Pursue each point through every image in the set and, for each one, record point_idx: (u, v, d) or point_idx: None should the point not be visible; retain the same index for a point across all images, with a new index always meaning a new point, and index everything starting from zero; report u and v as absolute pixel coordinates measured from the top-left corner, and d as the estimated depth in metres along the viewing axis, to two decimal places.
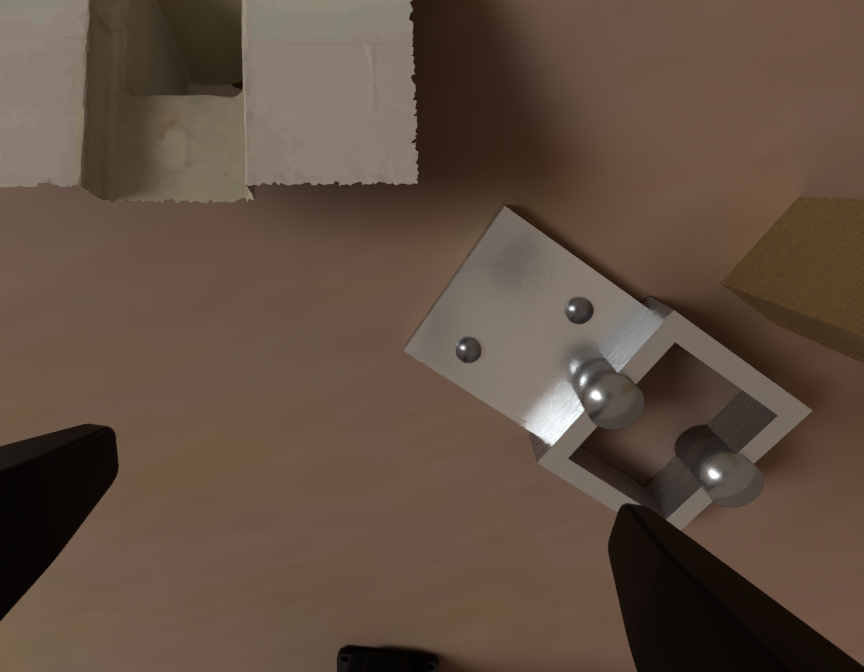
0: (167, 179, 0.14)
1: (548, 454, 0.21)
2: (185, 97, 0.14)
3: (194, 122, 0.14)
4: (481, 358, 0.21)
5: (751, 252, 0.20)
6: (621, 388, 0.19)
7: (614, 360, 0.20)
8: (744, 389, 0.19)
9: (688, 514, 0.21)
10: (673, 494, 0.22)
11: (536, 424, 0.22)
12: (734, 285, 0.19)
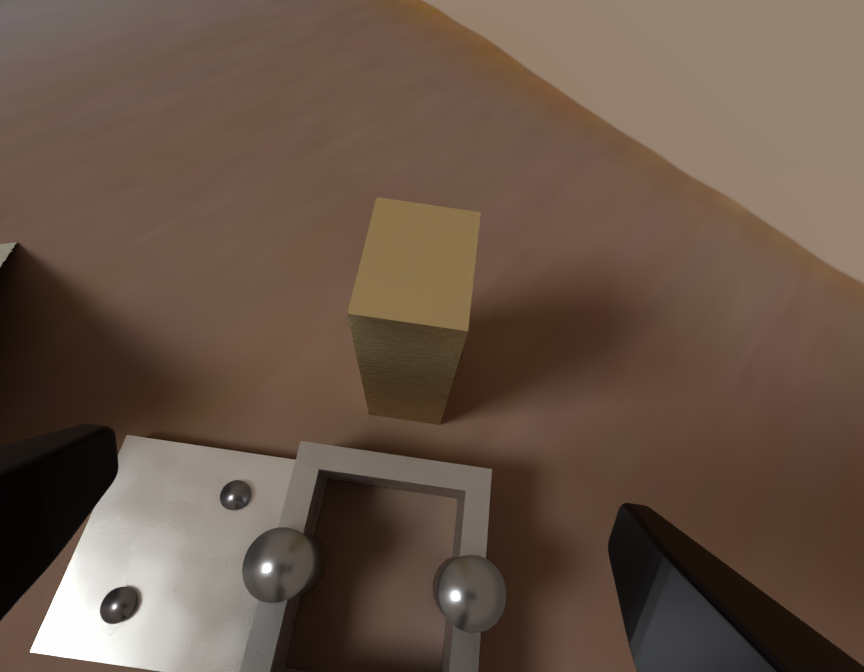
0: None
1: None
2: None
3: None
4: (139, 607, 0.17)
5: None
6: (275, 540, 0.16)
7: None
8: (415, 481, 0.18)
9: None
10: (446, 664, 0.16)
11: (240, 666, 0.16)
12: (368, 406, 0.21)
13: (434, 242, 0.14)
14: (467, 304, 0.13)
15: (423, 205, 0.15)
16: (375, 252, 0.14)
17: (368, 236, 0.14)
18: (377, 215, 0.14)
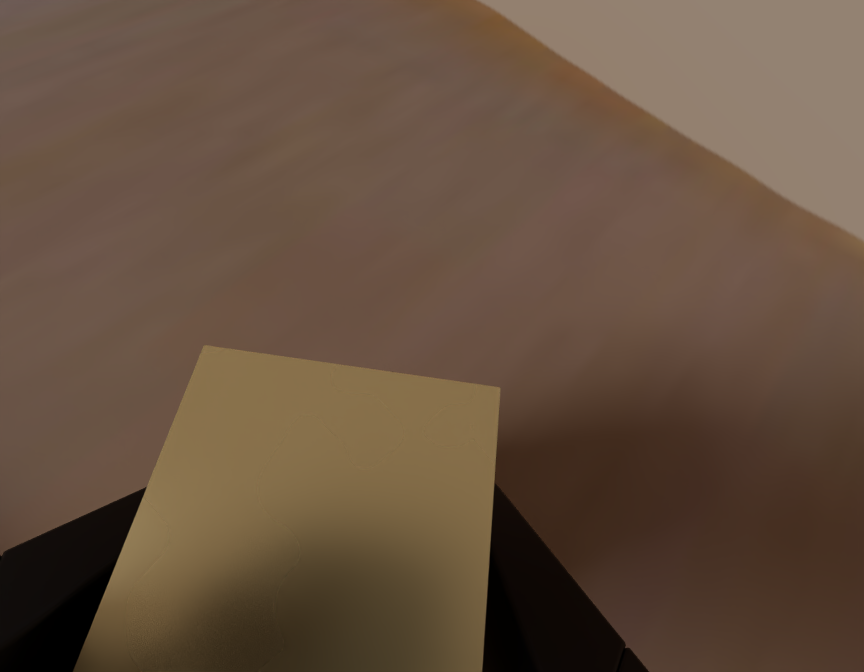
0: None
1: None
2: None
3: None
4: None
5: None
6: None
7: None
8: None
9: None
10: None
11: None
12: None
13: (359, 509, 0.05)
14: None
15: (339, 366, 0.05)
16: (161, 562, 0.04)
17: (150, 493, 0.04)
18: (194, 409, 0.05)
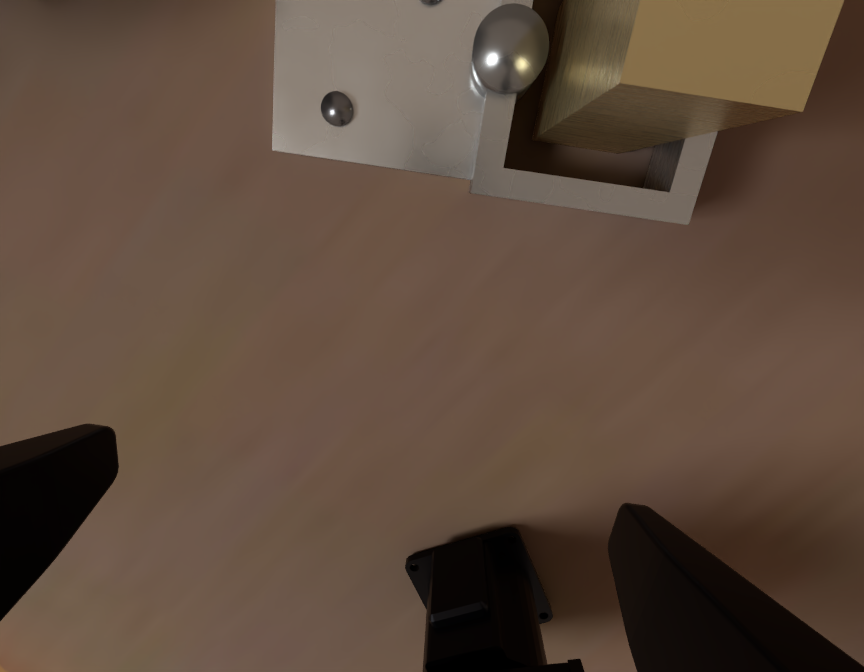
0: None
1: (478, 174, 0.16)
2: None
3: None
4: (357, 112, 0.17)
5: (542, 92, 0.17)
6: (505, 19, 0.14)
7: None
8: None
9: (695, 168, 0.16)
10: (668, 161, 0.16)
11: (462, 165, 0.18)
12: (536, 134, 0.17)
13: None
14: (817, 58, 0.08)
15: None
16: None
17: None
18: None
